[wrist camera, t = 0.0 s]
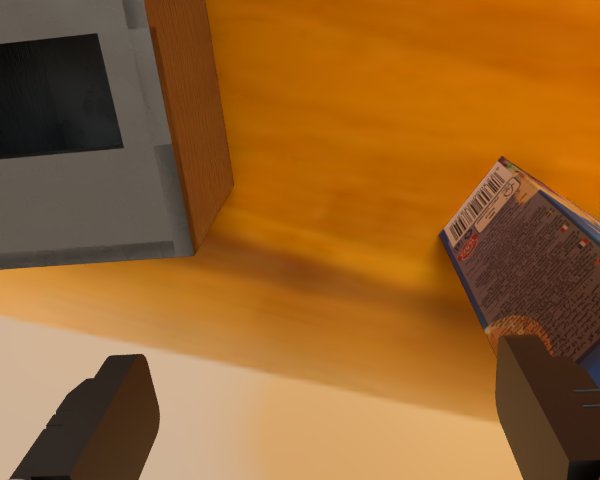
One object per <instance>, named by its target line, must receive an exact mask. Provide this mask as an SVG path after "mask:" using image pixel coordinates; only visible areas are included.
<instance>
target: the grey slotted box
mask: <svg viewBox="0 0 600 480" xmlns="http://www.w3.org/2000/svg"><path fill="white" fill-rule="evenodd" d="M233 186H234V182H233V175H232V169H231V163H230V156H229V150H228V143H227V137H226V131H225V124H224V118H223V111H222V105H221V99H220V92H219V86H218V79H217V73H216V66H215V60H214V54H213V47H212V41H211V34H210V28H209V22H208V15H207V9H206V2H205V0H0V270H1V269H15V268H29V267H44V266H58V265H72V264H87V263H101V262H115V261H129V260H144V259H158V258H172V257H187V256H194V255H195V253H196V251H197V250H198V248H199V246H200V244H201V243H202V241H203V239H204V237H205V235H206V234H207V232H208V230H209V228H210V227H211V225H212V223H213V221H214V220H215V218H216V216H217V214H218V212H219V211H220V209H221V207H222V205H223V204H224V202H225V200H226V198H227V196H228V195H229V193H230V191H231V189H232V188H233Z"/></svg>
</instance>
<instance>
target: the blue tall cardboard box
mask: <svg viewBox="0 0 600 480" xmlns="http://www.w3.org/2000/svg"><path fill="white" fill-rule="evenodd" d="M439 236H440V238H441V240H442V242H443V244H444V247H445V249H446V251H447V253H448V255H449V257H450V259H451V261H452V264H453V266H454V268H455V270H456V272H457V274H458V276H459V278H460V281H461V283H462V285H463V287H464V289H465V291H466V293H467V295H468V297H469V300H470V302H471V304H472V306H473V308H474V310H475V312H476V314H477V317H478V319H479V321H480V323H481V325H482V327H483V329H484V331H485V334H486V336H487V338H488V340H489V342H490V344H491V346H492V348H493V350H494V353H495V355H496V357H497V351H498V340H499V337H500V336H503V335H522V334H537V335H538V336H539V337H540V338H541V340H542V342H543V343H544V345H545V346H546V348H547V350H548V351H549V353H550V354H551V356H567V357H568V358H570V359H571V360H572V361H574V362H575V363H577V364H578V365H580V366H581V367H582V368H584V369H585V370H587V372H588V373H589V374H590V376H591V377H592V379H593V380H594V382H595V383H596V384H597V386H598V387H599V391H600V221H598V220H597V219H595V218H594V217H592V216H591V215H589V214H588V213H586V212H585V211H583V210H582V209H580V208H579V207H577V206H576V205H574V204H573V203H571V202H570V201H568V200H567V199H565V198H564V197H562V196H561V195H559V194H558V193H556V192H555V191H553V190H552V189H550V188H549V187H547V186H546V185H544V184H543V183H541V182H540V181H538V180H537V179H535V178H534V177H532V176H531V175H529V174H528V173H526V172H525V171H523V170H522V169H520V168H519V167H517V166H516V165H514V164H513V163H511V162H510V161H508V160H507V159H505V158H504V157H502V156H501V157H500V158H499V160H498V161H497V162H496V163H495V165H494V166H493V167H492V168H491V170H490V171H489V172H488V174H487V175H486V176H485V177H484V179H483V180H482V181H481V182H480V184H479V185H478V186H477V187H476V189H475V190H474V191H473V192H472V194H471V195H470V196H469V197H468V199H467V200H466V201H465V202H464V204H463V205H462V206H461V207H460V209H459V210H458V211H457V212H456V214H455V215H454V216H453V217H452V219H451V220H450V221H449V222H448V224H447V225H446V226H445V227H444V229H443V230H442V231H441V232H440V234H439Z"/></svg>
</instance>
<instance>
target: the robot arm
mask: <svg viewBox="0 0 600 480" xmlns="http://www.w3.org/2000/svg"><path fill="white" fill-rule="evenodd" d="M495 396H496V406H497V412H498V416H499V420H500V423H501V425H502V428H503V430H504V433H505V435H506V438H507V440H508V442H509V445H510V447H511V450H512V452H513V455H514V457H515V460H516V462H517V465H518V467H519V469H520V472H521V475H522V477H523V479H524V480H600V391H599V387H598V386H597V384H596V383H595V382H594V380H593V379H592V377H591V376H590V374H589V373H588V372H587V370H585V369H584V368H582V367H581V366H580V365H578V364H577V363H575V362H574V361H572V360H571V359H570V358H568V357H567V356H551V354H550V353H549V351H548V350H547V348H546V346H545V345H544V343H543V342H542V340H541V338H540V337H539V336H538V335H537V334H522V335H503V336H500V337H499V340H498V351H497V371H496V391H495ZM159 421H160V413H159V405H158V401H157V398H156V393H155V390H154V386H153V382H152V378H151V375H150V370H149V366H148V363H147V360H146V358H145V356H144V355H142V354H132V355H113V356H109V357H108V358H107V359H106V360H105V362H104V363H103V365H102V366H101V368H100V370H99V371H98V373H97V374H96V376H95V377H94V378H90V379H86V380H85V381H83V382H82V383H81V384H80V385H78V386H77V387H76V388H75V389H73V390H72V391H71V392H70V393H68V394H67V396H66V397H65V399H64V400H63V402H62V403H61V405H60V406H59V408H58V409H57V411H56V415H55V414H54V415H53V416H52V418H51V419H50V421H49V422H48V423H47V425H46V429H44V430H43V431H42V432H41V434H40V435H39V437H38V438H37V439H36V441H35V443H34V444H33V445H32V447H31V448H30V450H29V451H28V453H27V454H26V456H25V457H24V458H23V460H22V461H21V463H20V464H19V466H18V467H17V469H16V470H15V471H14V473H13V474H12V476H11V477H10V479H9V480H138V479H139V477H140V475H141V472H142V470H143V467H144V465H145V462H146V460H147V458H148V455H149V453H150V450H151V448H152V446H153V443H154V440H155V438H156V436H157V433H158V429H159Z"/></svg>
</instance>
